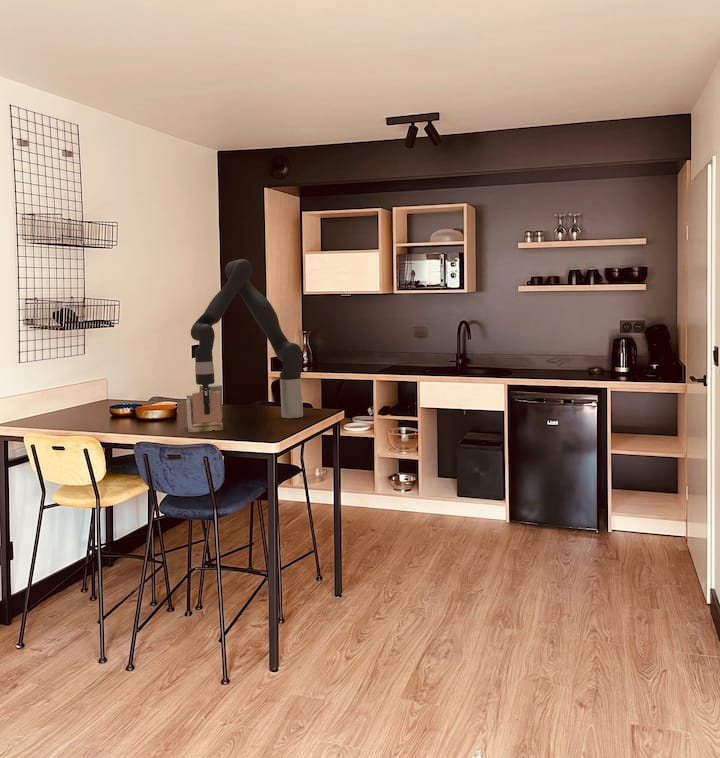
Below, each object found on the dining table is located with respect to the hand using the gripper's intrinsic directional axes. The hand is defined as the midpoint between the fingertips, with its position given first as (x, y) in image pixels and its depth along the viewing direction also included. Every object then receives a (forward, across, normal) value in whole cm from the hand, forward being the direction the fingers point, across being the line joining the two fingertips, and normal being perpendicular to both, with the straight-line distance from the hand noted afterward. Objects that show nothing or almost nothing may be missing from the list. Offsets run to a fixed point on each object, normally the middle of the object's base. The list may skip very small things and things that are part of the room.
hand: (207, 413), depth 308 cm
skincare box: (+7, +22, -2) cm, 24 cm away
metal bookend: (+5, +2, +7) cm, 9 cm away
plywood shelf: (+7, +3, +1) cm, 8 cm away
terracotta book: (+3, 0, 0) cm, 3 cm away
